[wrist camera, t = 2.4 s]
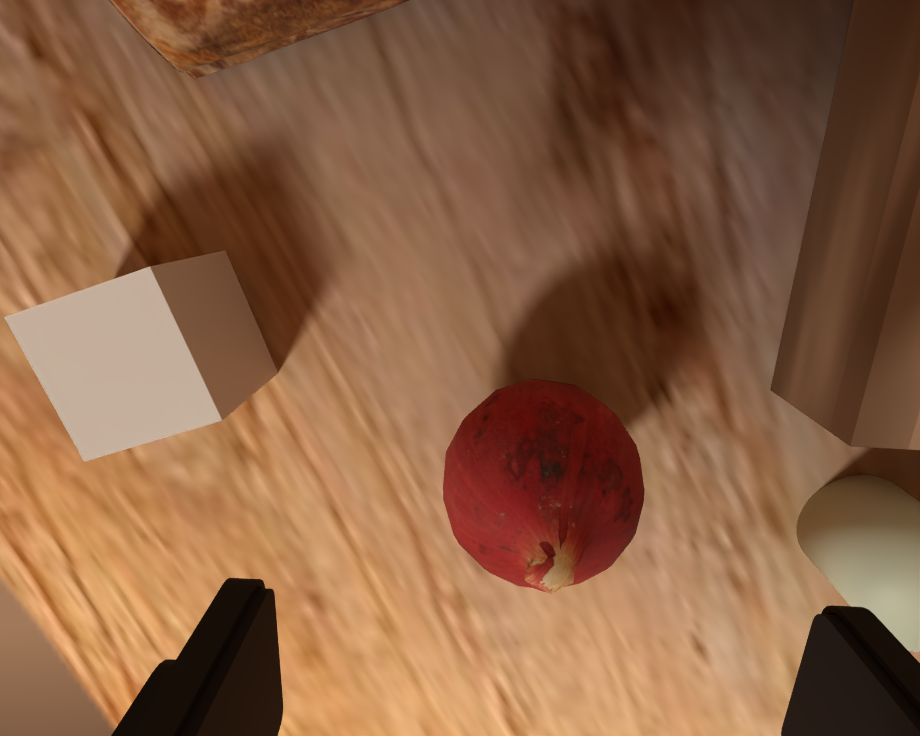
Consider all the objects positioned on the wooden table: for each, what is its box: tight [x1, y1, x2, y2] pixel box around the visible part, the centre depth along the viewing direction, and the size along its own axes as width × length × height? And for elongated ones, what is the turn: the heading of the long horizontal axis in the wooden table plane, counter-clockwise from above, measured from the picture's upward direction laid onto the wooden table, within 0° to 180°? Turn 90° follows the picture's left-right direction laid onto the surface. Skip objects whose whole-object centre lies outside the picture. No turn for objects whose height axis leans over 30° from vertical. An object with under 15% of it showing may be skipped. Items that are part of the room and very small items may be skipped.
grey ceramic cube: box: [4, 251, 278, 462], centre depth 18 cm, size 4×4×4 cm
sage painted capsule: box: [797, 475, 920, 652], centre depth 19 cm, size 4×4×4 cm
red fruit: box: [443, 379, 644, 594], centre depth 16 cm, size 6×6×8 cm
